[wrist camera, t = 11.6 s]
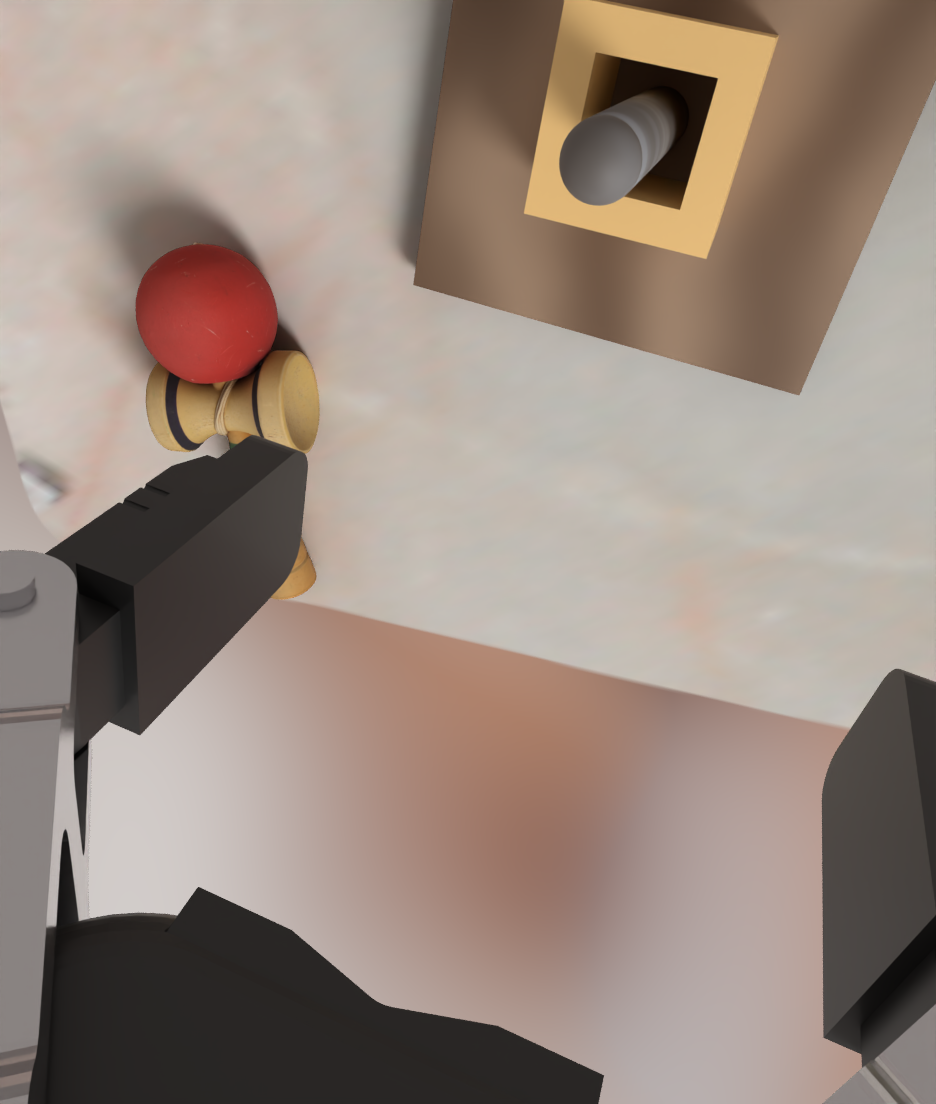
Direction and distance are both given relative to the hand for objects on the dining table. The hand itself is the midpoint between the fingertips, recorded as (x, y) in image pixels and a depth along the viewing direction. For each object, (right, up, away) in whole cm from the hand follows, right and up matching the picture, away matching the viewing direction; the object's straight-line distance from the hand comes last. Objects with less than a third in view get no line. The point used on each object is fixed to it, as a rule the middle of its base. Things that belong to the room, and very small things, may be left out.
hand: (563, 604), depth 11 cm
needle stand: (+6, +16, +19) cm, 26 cm away
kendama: (-11, +7, +32) cm, 35 cm away
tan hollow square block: (+5, +16, +18) cm, 25 cm away
